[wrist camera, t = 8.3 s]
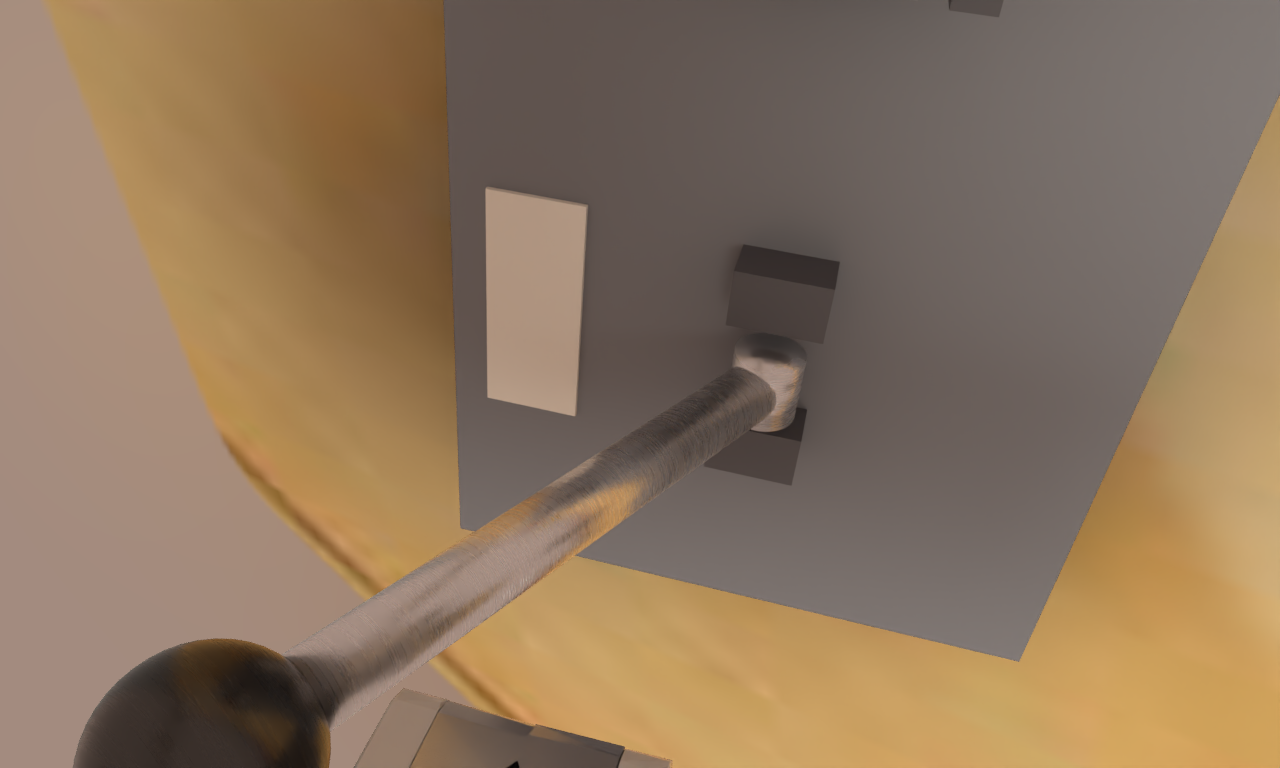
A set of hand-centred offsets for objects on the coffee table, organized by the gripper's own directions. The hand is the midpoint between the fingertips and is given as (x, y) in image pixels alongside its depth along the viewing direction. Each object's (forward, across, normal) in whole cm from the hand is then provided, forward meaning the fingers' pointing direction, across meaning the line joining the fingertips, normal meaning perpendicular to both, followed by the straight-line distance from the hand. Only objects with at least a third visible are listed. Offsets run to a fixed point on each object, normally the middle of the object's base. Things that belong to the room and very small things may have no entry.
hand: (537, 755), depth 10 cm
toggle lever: (+8, -1, 0) cm, 8 cm away
